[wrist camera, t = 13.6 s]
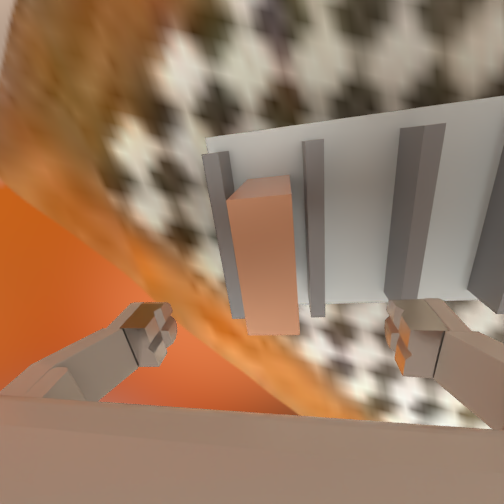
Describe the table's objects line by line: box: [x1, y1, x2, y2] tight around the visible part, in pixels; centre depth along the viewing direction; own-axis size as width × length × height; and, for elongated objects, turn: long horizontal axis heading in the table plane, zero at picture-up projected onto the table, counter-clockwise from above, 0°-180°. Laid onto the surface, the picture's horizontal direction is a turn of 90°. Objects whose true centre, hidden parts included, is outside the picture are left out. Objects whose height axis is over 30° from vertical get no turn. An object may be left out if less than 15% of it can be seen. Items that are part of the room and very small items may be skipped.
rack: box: [202, 96, 504, 319], centre depth 17 cm, size 20×14×4 cm
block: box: [226, 175, 300, 335], centre depth 16 cm, size 3×8×7 cm, turn 7°
